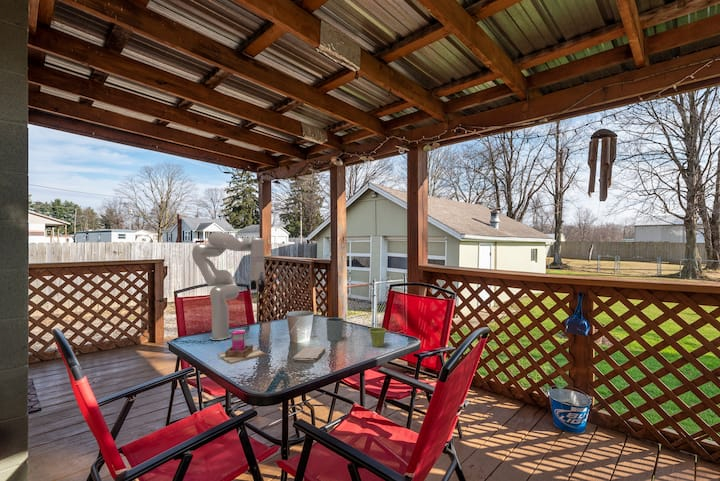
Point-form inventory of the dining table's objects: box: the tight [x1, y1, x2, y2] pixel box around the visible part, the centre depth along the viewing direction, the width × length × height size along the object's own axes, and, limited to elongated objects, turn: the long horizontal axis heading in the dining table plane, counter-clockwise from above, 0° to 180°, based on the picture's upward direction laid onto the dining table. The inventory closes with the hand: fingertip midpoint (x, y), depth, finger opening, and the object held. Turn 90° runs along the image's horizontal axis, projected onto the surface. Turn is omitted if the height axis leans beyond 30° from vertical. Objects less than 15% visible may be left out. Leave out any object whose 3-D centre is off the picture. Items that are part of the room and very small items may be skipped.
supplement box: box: [231, 329, 246, 351], centre depth 170 cm, size 6×6×12 cm
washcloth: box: [292, 347, 326, 364], centre depth 168 cm, size 12×18×3 cm, turn 171°
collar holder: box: [216, 344, 266, 365], centre depth 171 cm, size 16×18×4 cm
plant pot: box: [368, 327, 387, 348], centre depth 186 cm, size 9×9×9 cm
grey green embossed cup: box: [326, 316, 345, 343], centre depth 199 cm, size 10×10×12 cm
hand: (257, 290), depth 190 cm, fingers open, 9 cm apart
